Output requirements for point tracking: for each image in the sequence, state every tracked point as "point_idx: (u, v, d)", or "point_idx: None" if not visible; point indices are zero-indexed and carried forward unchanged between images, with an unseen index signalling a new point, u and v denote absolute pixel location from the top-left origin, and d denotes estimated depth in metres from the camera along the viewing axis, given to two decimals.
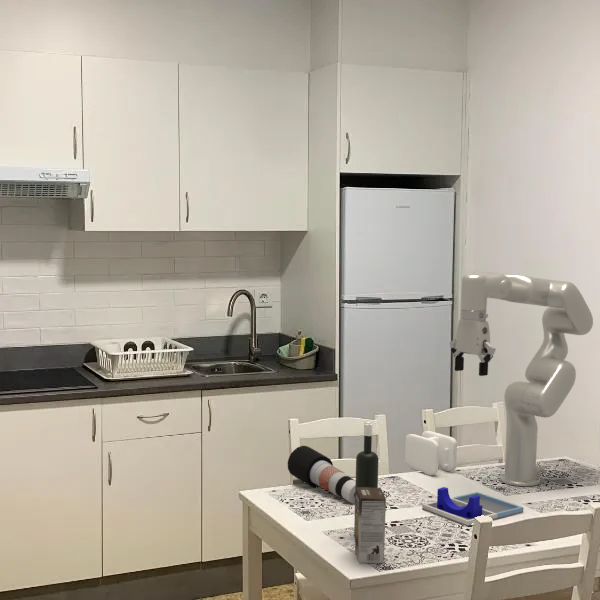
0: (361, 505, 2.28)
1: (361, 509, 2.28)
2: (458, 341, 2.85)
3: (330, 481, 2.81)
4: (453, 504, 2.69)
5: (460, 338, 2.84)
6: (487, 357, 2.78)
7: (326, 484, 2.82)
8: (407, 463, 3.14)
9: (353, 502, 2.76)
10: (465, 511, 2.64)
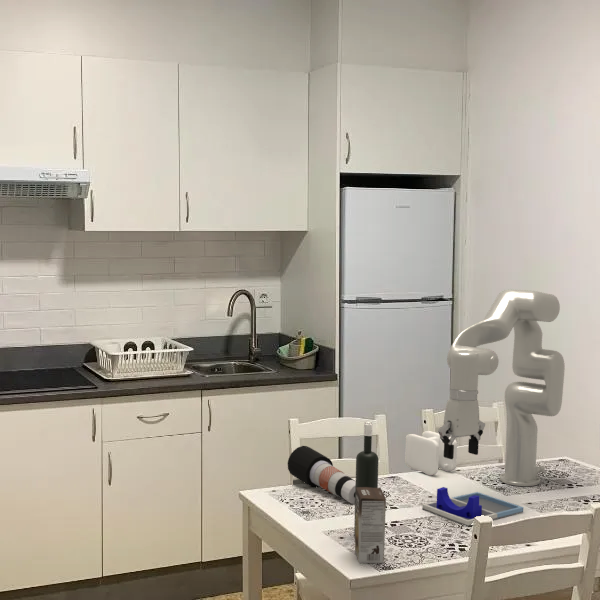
0: (361, 505, 2.28)
1: (361, 509, 2.28)
2: (459, 426, 2.62)
3: (330, 481, 2.81)
4: (452, 504, 2.69)
5: (462, 422, 2.62)
6: (481, 433, 2.69)
7: (326, 484, 2.82)
8: (407, 463, 3.14)
9: (353, 502, 2.76)
10: (465, 511, 2.64)
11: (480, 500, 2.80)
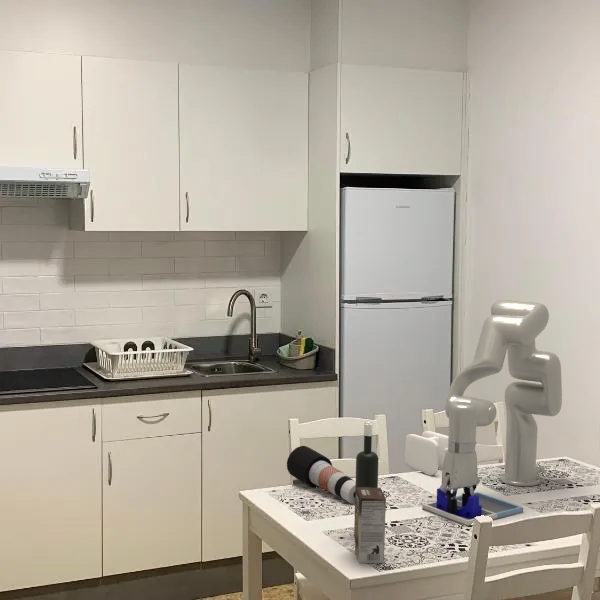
0: (361, 505, 2.28)
1: (361, 509, 2.28)
2: (457, 478, 2.63)
3: (329, 481, 2.81)
4: None
5: (460, 474, 2.64)
6: (474, 488, 2.70)
7: (325, 484, 2.82)
8: (407, 463, 3.14)
9: (352, 502, 2.75)
10: (465, 511, 2.64)
11: (480, 500, 2.80)
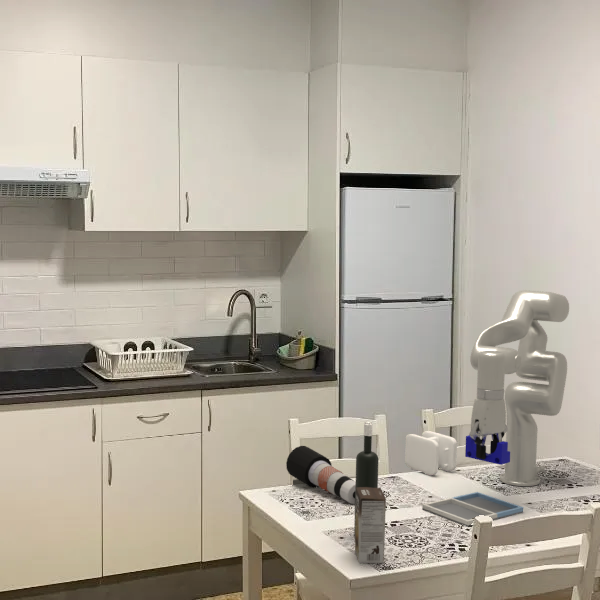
0: (361, 505, 2.28)
1: (361, 509, 2.28)
2: (486, 424, 2.68)
3: (329, 481, 2.81)
4: None
5: (489, 421, 2.69)
6: (502, 435, 2.75)
7: (325, 484, 2.82)
8: (407, 463, 3.14)
9: (352, 502, 2.75)
10: (494, 457, 2.69)
11: (480, 500, 2.80)
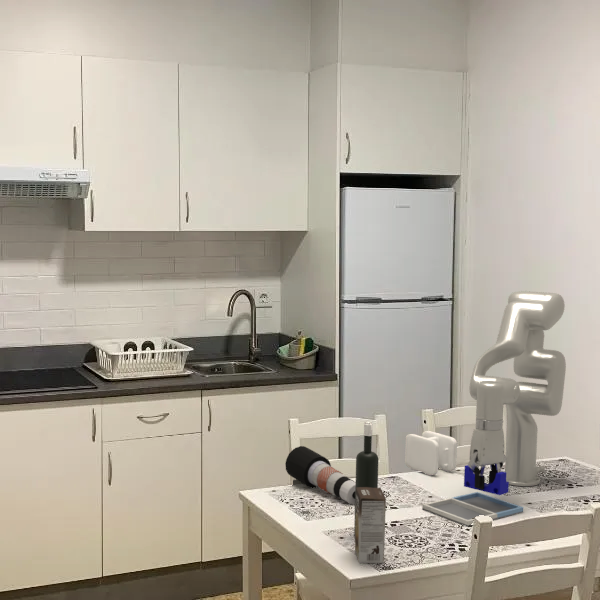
0: (361, 505, 2.28)
1: (361, 509, 2.28)
2: (485, 455, 2.69)
3: (328, 481, 2.81)
4: None
5: (488, 451, 2.69)
6: (501, 465, 2.76)
7: (324, 485, 2.82)
8: (407, 463, 3.14)
9: (351, 502, 2.75)
10: (492, 487, 2.70)
11: (480, 500, 2.80)
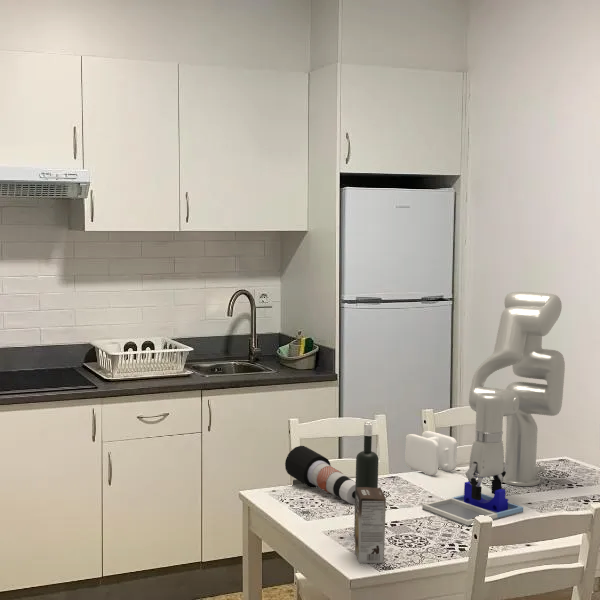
0: (361, 505, 2.28)
1: (361, 509, 2.28)
2: (485, 467, 2.70)
3: (328, 481, 2.81)
4: None
5: (487, 463, 2.70)
6: (504, 474, 2.77)
7: (324, 484, 2.82)
8: (407, 463, 3.14)
9: (351, 502, 2.75)
10: (491, 504, 2.71)
11: None
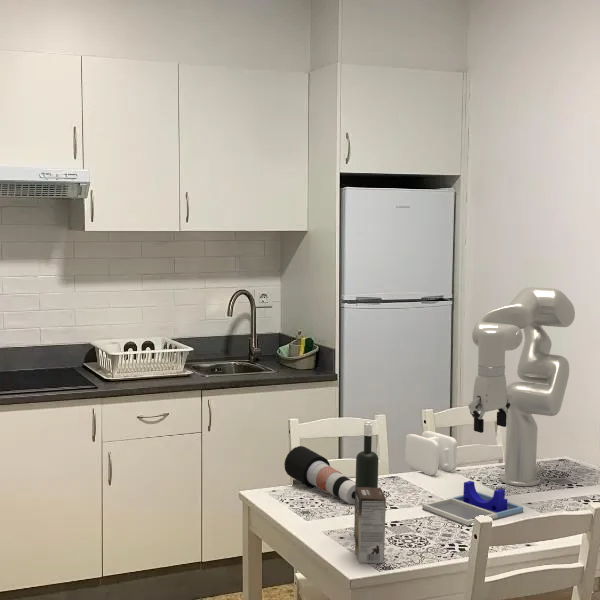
0: (361, 505, 2.28)
1: (361, 509, 2.28)
2: (488, 401, 2.72)
3: (327, 481, 2.81)
4: (479, 497, 2.76)
5: (490, 397, 2.72)
6: (508, 406, 2.80)
7: (323, 484, 2.81)
8: (407, 463, 3.14)
9: (350, 502, 2.75)
10: (490, 504, 2.71)
11: None
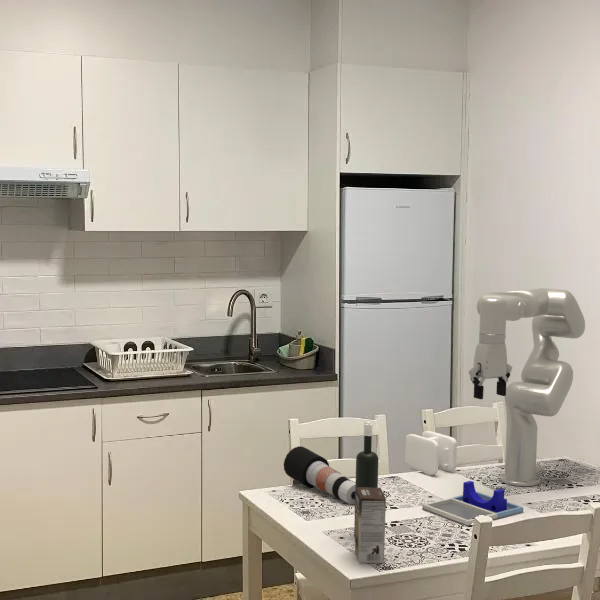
0: (361, 505, 2.28)
1: (361, 509, 2.28)
2: (488, 368, 2.77)
3: (327, 482, 2.81)
4: (478, 497, 2.76)
5: (491, 364, 2.77)
6: (508, 376, 2.85)
7: (323, 485, 2.81)
8: (407, 463, 3.14)
9: (350, 503, 2.75)
10: (490, 504, 2.71)
11: None
